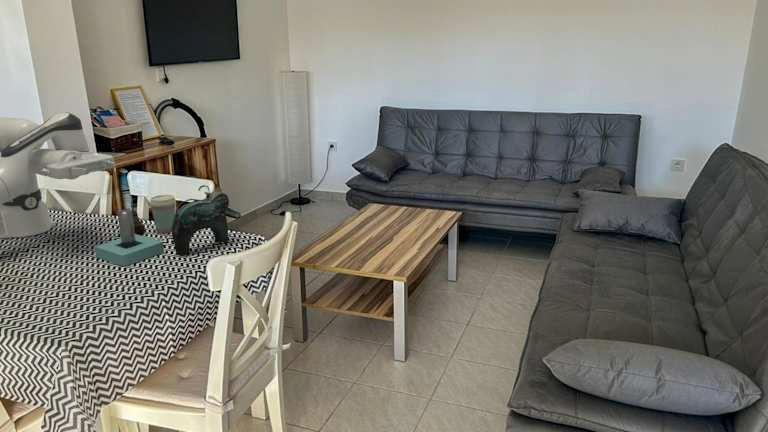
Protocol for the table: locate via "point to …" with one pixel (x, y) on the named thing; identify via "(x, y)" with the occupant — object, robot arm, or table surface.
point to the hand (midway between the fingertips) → (100, 168)
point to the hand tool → (137, 224)
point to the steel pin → (126, 228)
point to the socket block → (129, 251)
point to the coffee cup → (163, 212)
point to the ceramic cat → (200, 219)
